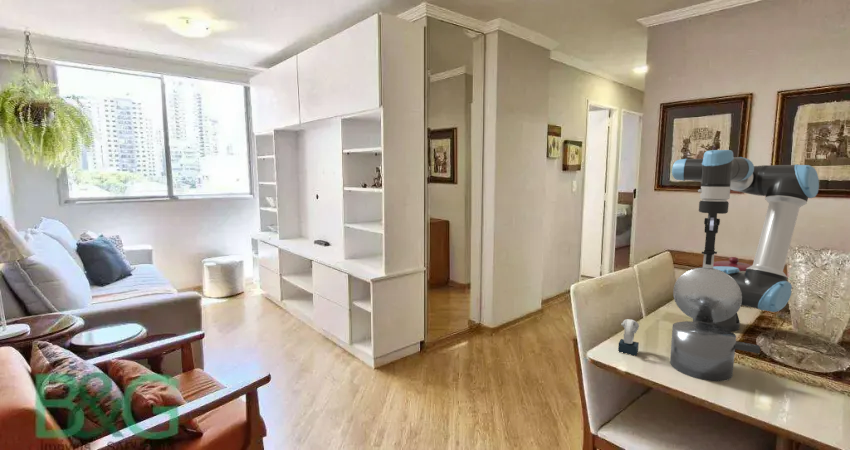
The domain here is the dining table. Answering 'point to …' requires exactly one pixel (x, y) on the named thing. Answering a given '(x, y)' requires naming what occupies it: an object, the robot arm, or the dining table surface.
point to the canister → (733, 264)
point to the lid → (707, 295)
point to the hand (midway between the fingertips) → (707, 273)
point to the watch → (629, 338)
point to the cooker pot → (705, 350)
